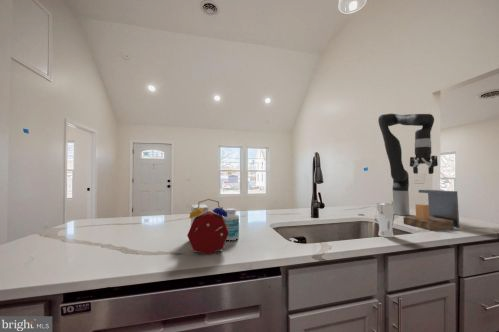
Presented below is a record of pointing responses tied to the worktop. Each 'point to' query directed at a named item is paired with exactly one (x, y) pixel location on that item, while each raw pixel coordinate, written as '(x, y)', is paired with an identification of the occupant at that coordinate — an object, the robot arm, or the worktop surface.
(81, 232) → the worktop surface
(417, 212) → the peg
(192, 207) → the skincare box
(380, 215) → the beer glass
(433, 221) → the socket block
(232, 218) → the pill bottle
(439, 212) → the thin grey panel
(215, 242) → the alarm clock
